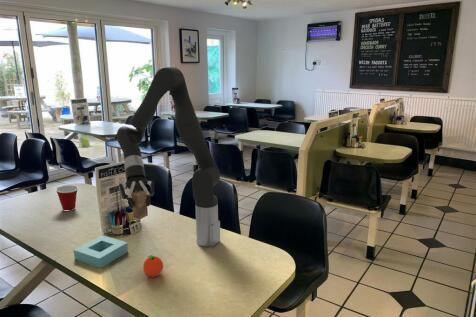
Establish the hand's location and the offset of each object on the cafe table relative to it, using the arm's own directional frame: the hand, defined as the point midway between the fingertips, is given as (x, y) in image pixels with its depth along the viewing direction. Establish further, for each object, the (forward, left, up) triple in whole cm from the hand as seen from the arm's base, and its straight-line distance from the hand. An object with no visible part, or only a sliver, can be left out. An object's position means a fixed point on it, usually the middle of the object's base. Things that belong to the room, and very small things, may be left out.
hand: (140, 206), depth 136 cm
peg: (+1, -1, -5) cm, 5 cm away
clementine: (-13, +10, -20) cm, 26 cm away
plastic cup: (+67, -17, -20) cm, 72 cm away
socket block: (+14, +9, -20) cm, 26 cm away
